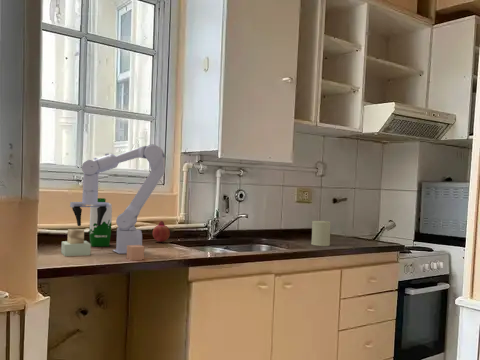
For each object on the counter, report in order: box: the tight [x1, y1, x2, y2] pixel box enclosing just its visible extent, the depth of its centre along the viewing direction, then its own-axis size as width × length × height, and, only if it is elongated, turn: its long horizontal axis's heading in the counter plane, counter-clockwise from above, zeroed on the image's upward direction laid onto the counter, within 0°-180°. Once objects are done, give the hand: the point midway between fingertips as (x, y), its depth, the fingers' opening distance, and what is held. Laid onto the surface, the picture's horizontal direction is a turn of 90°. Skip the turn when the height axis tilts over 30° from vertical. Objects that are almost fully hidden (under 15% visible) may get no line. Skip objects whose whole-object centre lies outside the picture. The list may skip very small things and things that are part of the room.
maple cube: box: [66, 228, 85, 244], centre depth 173 cm, size 5×5×5 cm
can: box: [310, 220, 332, 247], centre depth 229 cm, size 9×9×12 cm
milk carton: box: [88, 197, 113, 248], centre depth 196 cm, size 9×9×20 cm
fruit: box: [152, 220, 171, 243], centre depth 214 cm, size 8×8×10 cm
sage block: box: [60, 240, 92, 257], centre depth 173 cm, size 9×9×4 cm
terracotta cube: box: [126, 245, 146, 261], centre depth 167 cm, size 5×5×5 cm
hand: (89, 225), depth 181 cm, fingers open, 7 cm apart
